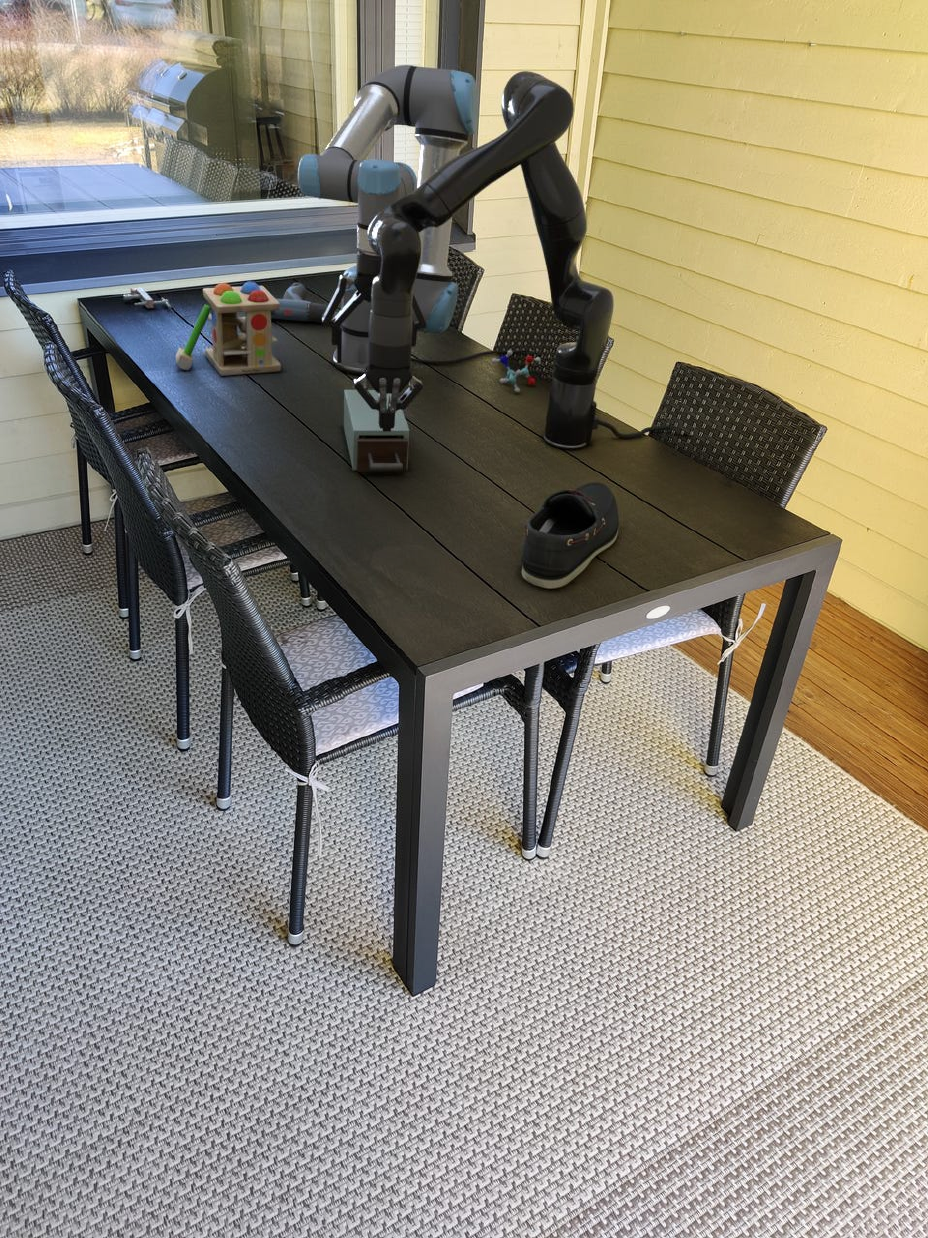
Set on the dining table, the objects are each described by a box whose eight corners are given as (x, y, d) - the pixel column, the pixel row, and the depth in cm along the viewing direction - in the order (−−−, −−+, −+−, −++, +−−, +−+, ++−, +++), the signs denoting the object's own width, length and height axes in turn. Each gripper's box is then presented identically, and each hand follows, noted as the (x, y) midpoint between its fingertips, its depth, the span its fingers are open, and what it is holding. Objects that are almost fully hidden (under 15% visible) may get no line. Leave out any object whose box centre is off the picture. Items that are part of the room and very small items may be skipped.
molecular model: (536, 384, 226) (523, 342, 225) (499, 398, 230) (486, 357, 228) (548, 383, 237) (536, 343, 235) (513, 396, 240) (500, 357, 239)
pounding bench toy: (183, 379, 220) (176, 299, 210) (169, 357, 231) (162, 280, 221) (282, 371, 230) (280, 294, 220) (264, 350, 240) (262, 276, 230)
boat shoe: (641, 524, 182) (650, 473, 177) (559, 595, 158) (566, 538, 153) (580, 505, 188) (586, 455, 182) (491, 571, 164) (495, 515, 158)
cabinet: (407, 470, 192) (409, 430, 188) (352, 470, 190) (353, 430, 186) (394, 427, 209) (395, 389, 204) (343, 427, 207) (344, 389, 202)
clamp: (119, 288, 264) (156, 285, 268) (120, 296, 265) (157, 294, 269) (133, 305, 253) (172, 302, 258) (134, 313, 254) (173, 310, 259)
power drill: (344, 304, 276) (335, 327, 259) (277, 298, 275) (264, 321, 258) (344, 285, 273) (335, 306, 256) (277, 279, 272) (264, 300, 255)
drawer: (410, 485, 185) (412, 454, 181) (360, 486, 183) (361, 455, 179) (393, 430, 205) (395, 401, 201) (348, 430, 203) (348, 401, 199)
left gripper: (310, 253, 178) (311, 366, 190) (445, 258, 183) (437, 368, 195) (308, 243, 184) (308, 353, 196) (439, 248, 189) (431, 355, 201)
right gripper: (354, 343, 166) (352, 438, 176) (431, 345, 169) (424, 438, 179) (350, 329, 172) (348, 421, 182) (424, 330, 175) (418, 421, 185)
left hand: (373, 361), depth 196 cm, fingers open, 13 cm apart
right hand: (386, 429), depth 180 cm, fingers closed
